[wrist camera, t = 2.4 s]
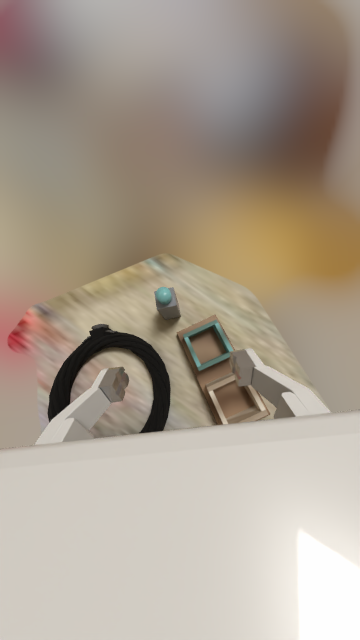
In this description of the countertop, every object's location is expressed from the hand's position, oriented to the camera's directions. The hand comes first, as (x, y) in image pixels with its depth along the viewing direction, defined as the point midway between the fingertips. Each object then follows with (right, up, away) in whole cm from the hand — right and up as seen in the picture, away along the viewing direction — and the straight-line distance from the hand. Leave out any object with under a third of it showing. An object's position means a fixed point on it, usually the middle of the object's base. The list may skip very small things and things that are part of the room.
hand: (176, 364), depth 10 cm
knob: (-2, +6, +25) cm, 25 cm away
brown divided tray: (+9, -7, +20) cm, 23 cm away
